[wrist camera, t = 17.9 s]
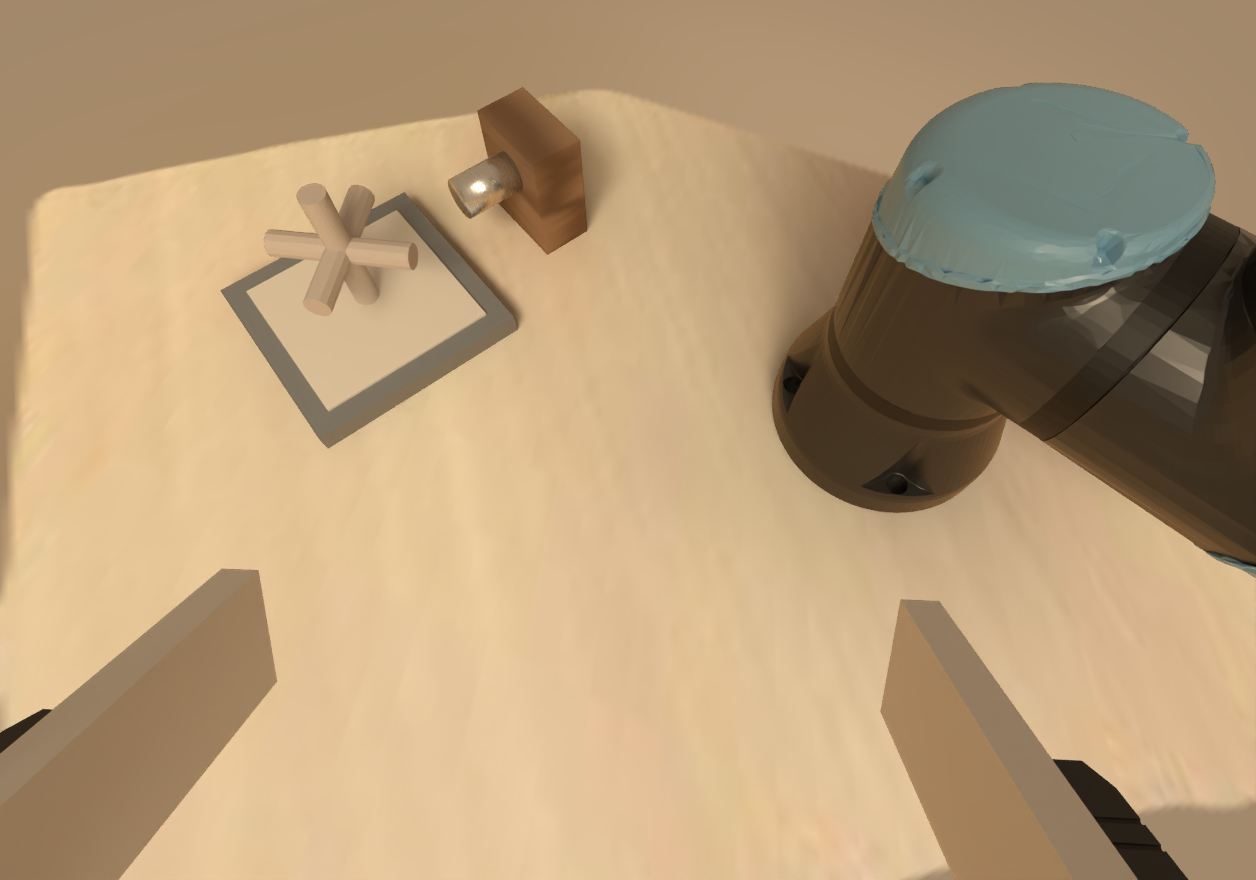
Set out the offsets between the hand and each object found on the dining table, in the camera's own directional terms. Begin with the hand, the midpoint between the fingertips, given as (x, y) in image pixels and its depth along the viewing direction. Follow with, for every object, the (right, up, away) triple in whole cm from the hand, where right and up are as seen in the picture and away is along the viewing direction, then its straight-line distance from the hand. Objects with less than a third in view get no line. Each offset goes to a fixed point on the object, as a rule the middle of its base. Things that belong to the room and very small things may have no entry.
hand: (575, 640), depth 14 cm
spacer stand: (-15, +17, +40) cm, 45 cm away
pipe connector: (-18, +15, +37) cm, 44 cm away
